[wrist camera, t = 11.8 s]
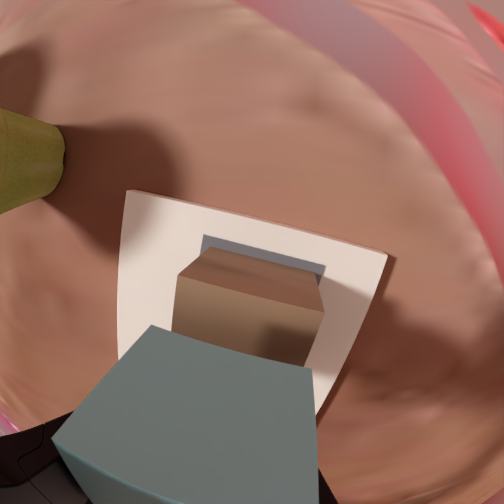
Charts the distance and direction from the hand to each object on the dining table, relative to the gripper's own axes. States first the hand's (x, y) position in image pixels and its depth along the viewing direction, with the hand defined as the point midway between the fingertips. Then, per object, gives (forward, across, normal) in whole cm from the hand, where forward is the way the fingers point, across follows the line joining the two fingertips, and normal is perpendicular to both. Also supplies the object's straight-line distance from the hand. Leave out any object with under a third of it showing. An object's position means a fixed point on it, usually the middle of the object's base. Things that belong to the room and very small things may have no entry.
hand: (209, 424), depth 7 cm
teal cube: (+1, 0, 0) cm, 1 cm away
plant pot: (+10, +19, -6) cm, 22 cm away
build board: (+10, +1, +4) cm, 11 cm away
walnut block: (+9, 0, 0) cm, 9 cm away
